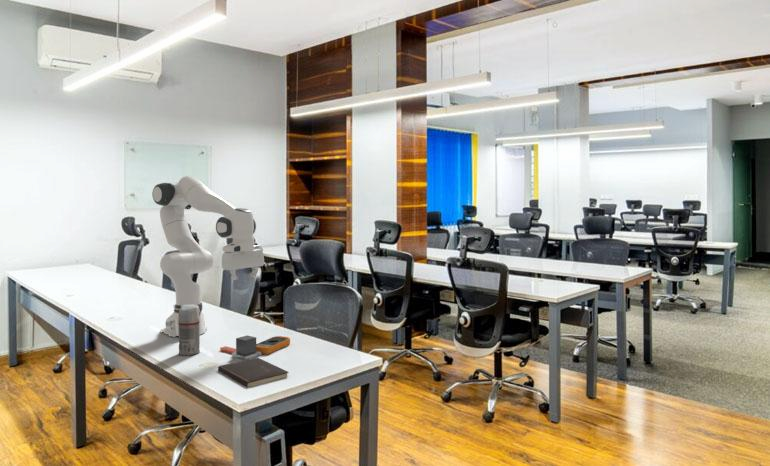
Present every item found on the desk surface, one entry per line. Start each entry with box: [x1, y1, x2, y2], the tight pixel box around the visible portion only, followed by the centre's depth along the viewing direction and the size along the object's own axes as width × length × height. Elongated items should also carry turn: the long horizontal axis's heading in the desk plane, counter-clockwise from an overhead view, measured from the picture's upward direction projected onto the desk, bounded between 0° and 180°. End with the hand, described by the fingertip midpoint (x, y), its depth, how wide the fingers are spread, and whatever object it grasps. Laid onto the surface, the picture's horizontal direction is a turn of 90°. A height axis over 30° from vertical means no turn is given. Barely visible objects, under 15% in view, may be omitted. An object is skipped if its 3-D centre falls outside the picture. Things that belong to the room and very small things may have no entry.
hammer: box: [219, 346, 262, 361], centre depth 213 cm, size 19×8×5 cm, turn 54°
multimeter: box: [256, 335, 291, 355], centre depth 221 cm, size 9×18×3 cm, turn 158°
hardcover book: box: [217, 356, 289, 388], centre depth 188 cm, size 16×23×2 cm
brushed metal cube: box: [235, 335, 257, 355], centre depth 209 cm, size 6×6×6 cm
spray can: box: [178, 304, 201, 357], centre depth 213 cm, size 8×8×20 cm
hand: (244, 278), depth 223 cm, fingers open, 8 cm apart
